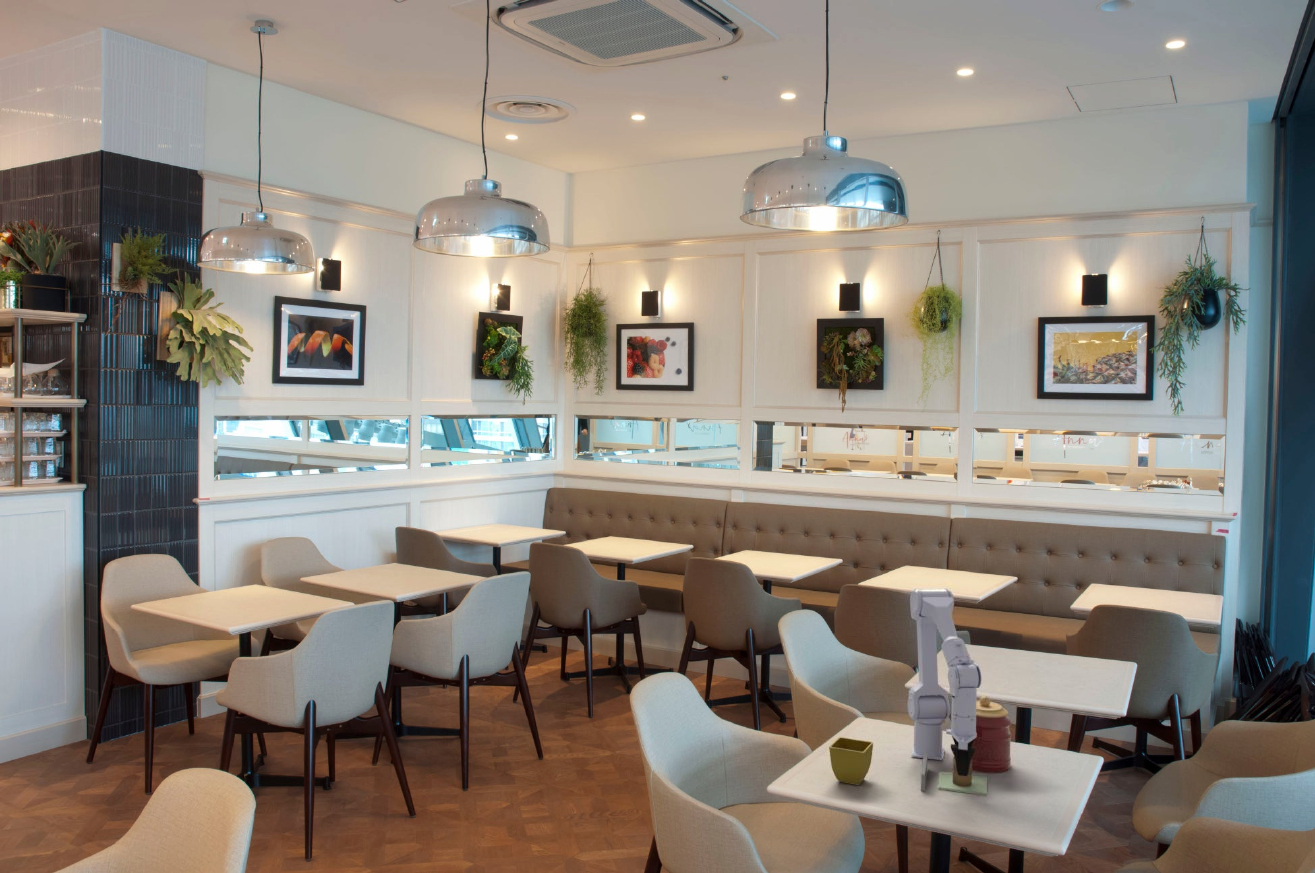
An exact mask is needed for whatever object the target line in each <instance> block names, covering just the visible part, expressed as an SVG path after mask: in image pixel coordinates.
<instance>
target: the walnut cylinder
mask: <svg viewBox="0 0 1315 873" xmlns="http://www.w3.org/2000/svg"><path fill="white" fill-rule="evenodd" d="M952 758H953V759H952V773H953V784H955V785H957V786H962V787H969V786H971V785H972V775H973V770H972V759H971V762H970V766H969V771H968V775H967V776H960V775H958V773H957V767H956V761H955V757H954V756H953V757H952Z"/></svg>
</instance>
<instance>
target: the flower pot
mask: <svg viewBox="0 0 1315 873" xmlns="http://www.w3.org/2000/svg"><path fill="white" fill-rule="evenodd" d="M828 747H829V758H830V764H831V765H830V766H831V769H832V772H833V774H834V776H835V778H836V779H837V781H838V782H839V781H841V782H840V783H844V782H845V783H844V784H850V783H852V784H851V785H855V784H856V786H858V785H859V786H860V784H861V783H862V782H863V780H865V778H866V777H867V774H868V773H869V770H870V767H871V765H872V758H873V748H874V742H873V741H869V740H868V741H867V740H860V739H854V738H848V737H842V736H838V737H837V739H835V740H834V742H832V743H831V744H830V745H829V746H828Z"/></svg>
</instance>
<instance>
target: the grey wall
mask: <svg viewBox="0 0 1315 873" xmlns="http://www.w3.org/2000/svg"><path fill="white" fill-rule="evenodd" d="M922 759H923V760H922V765H921V766H922V767H921V773H920V791H921V792H925V789H926V784H927V783H926V782H927V775H928V765H929V764H928V753H924V758H922Z"/></svg>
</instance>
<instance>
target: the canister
mask: <svg viewBox="0 0 1315 873" xmlns="http://www.w3.org/2000/svg"><path fill="white" fill-rule="evenodd" d="M1008 714H1009V711H1008V710H1007V709H1006V708H1004V707H1003V706H1002V705H1001V704H999V703H996V702H993V701H991V699H990V698H989V697H988V696H986V695H982V696H980V698H979V700H976V733H977V737H976V738H975V740H974V742H973V744H972V747H971V748H975V749H976V750H975V753H974V755H973V756H972V771H976V772H980V773H989V774H994V773H996V774H997V773H1003V772H1007V771H1008V770H1010V767H1011V764H1012V762H1011V761H1012V757H1011V738H1012V733H1011V731H1010V726H1011V724H1012V720H1011V719H1010V717H1008Z"/></svg>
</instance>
